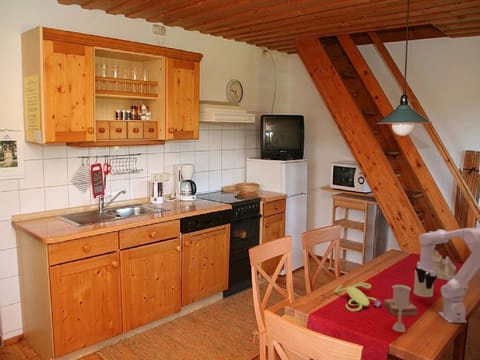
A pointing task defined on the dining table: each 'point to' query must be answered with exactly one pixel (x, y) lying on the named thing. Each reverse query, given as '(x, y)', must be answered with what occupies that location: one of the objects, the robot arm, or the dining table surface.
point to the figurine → (357, 296)
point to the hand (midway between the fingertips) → (424, 285)
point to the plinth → (394, 311)
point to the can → (422, 288)
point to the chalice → (400, 303)
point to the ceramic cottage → (443, 267)
